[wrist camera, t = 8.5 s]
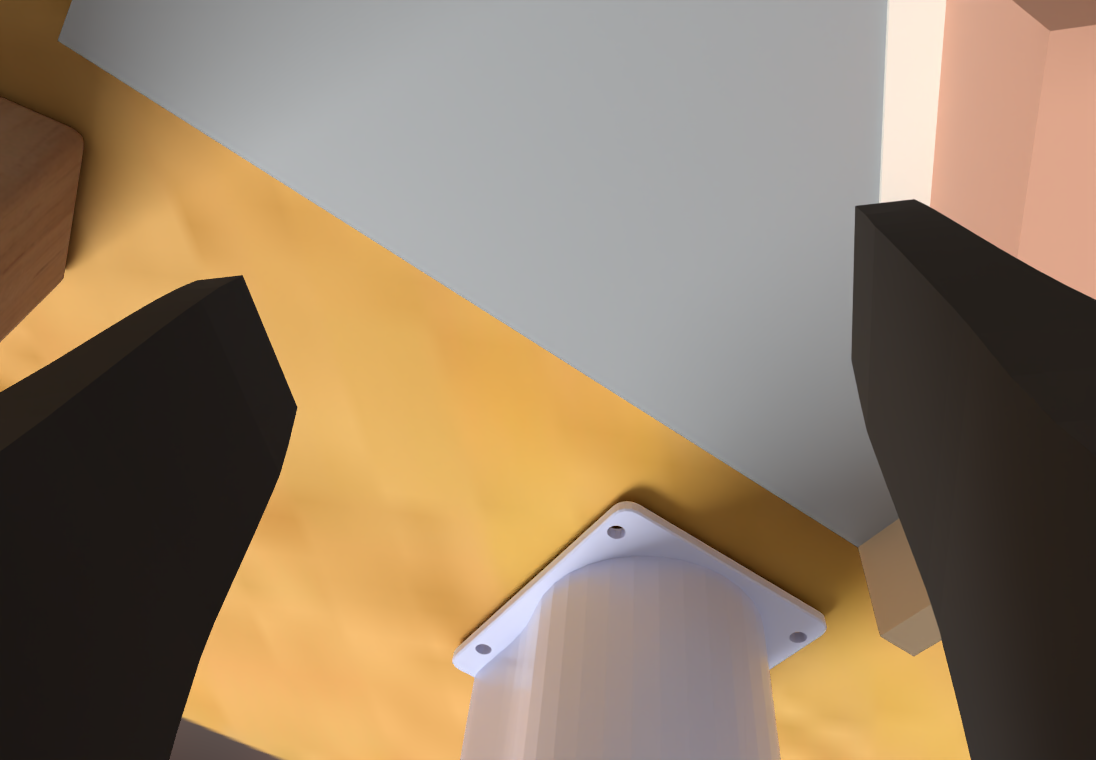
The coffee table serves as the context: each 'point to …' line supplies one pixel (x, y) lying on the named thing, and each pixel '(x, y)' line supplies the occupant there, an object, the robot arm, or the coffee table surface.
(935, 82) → the pad
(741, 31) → the arena board
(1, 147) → the wooden block
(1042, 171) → the terracotta cube
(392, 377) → the coffee table surface
